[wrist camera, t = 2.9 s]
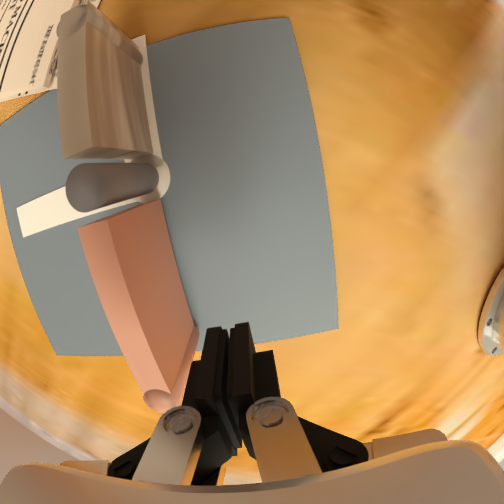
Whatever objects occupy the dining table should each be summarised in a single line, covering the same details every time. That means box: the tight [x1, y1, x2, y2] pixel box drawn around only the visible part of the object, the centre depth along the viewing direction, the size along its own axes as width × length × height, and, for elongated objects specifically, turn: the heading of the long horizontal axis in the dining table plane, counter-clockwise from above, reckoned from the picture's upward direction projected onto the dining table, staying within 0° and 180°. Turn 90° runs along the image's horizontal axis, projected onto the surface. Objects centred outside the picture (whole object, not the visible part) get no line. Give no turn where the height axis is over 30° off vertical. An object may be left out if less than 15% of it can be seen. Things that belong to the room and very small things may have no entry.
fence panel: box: [65, 163, 200, 414], centre depth 14 cm, size 13×2×7 cm, turn 10°
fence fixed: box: [56, 0, 153, 159], centre depth 12 cm, size 2×8×8 cm, turn 10°
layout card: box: [0, 17, 339, 356], centre depth 17 cm, size 26×24×1 cm
